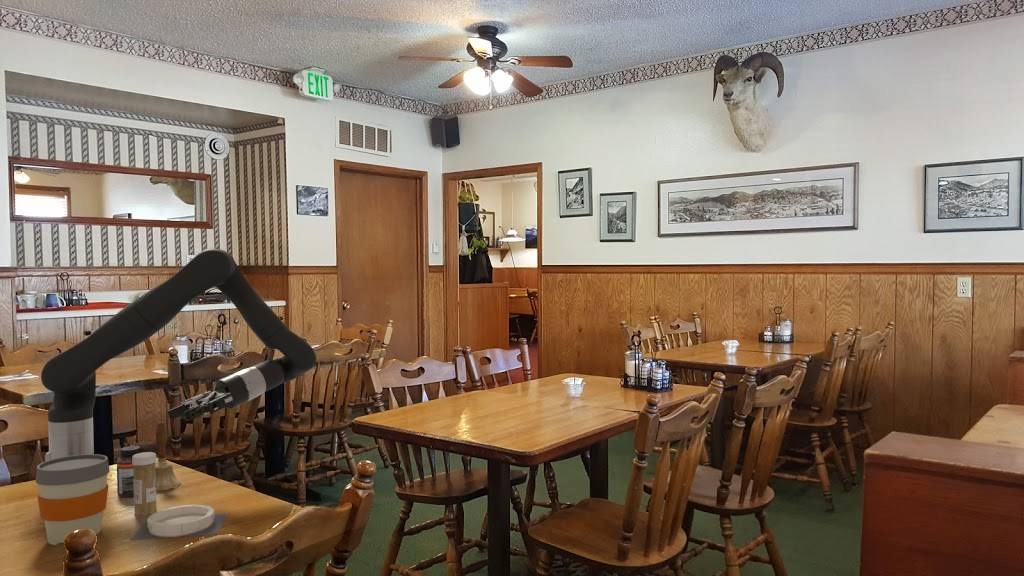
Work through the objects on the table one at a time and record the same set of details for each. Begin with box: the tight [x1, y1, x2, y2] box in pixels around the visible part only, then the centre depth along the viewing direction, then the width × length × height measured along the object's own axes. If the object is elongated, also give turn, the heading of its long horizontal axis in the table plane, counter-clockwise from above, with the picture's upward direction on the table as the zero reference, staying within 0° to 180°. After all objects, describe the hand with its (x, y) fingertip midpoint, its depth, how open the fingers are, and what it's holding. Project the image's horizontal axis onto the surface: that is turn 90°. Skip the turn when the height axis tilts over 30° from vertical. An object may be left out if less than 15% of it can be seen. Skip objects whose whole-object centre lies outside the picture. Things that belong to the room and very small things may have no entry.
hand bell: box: [155, 421, 182, 492], centre depth 172 cm, size 8×8×16 cm
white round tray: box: [146, 503, 215, 538], centre depth 143 cm, size 12×12×2 cm
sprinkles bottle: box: [132, 451, 158, 518], centre depth 151 cm, size 5×5×14 cm
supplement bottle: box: [116, 445, 141, 499], centre depth 165 cm, size 6×6×11 cm
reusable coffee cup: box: [35, 453, 111, 546], centre depth 139 cm, size 13×13×15 cm
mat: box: [129, 513, 230, 541], centre depth 143 cm, size 16×12×1 cm
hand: (176, 416), depth 157 cm, fingers open, 8 cm apart
